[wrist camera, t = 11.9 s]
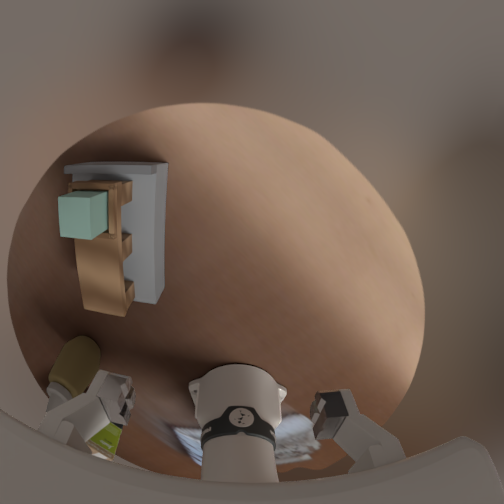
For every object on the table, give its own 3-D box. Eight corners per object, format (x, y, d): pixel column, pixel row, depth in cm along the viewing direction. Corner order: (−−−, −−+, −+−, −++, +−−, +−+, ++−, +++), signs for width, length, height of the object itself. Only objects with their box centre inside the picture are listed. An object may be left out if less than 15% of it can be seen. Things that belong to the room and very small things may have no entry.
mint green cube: (108, 228, 26) (91, 239, 22) (79, 225, 26) (60, 236, 22) (108, 190, 25) (89, 197, 21) (78, 190, 24) (58, 196, 20)
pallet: (135, 299, 34) (122, 320, 29) (98, 292, 33) (81, 312, 29) (132, 178, 28) (113, 183, 24) (90, 177, 28) (68, 183, 23)
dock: (164, 286, 39) (151, 312, 32) (95, 277, 38) (75, 298, 31) (168, 162, 33) (151, 165, 26) (91, 161, 32) (64, 165, 25)
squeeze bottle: (65, 335, 42) (22, 396, 25) (88, 325, 41) (42, 394, 24) (88, 364, 45) (55, 428, 28) (113, 357, 44) (79, 429, 27)
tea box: (100, 424, 54) (85, 464, 40) (72, 402, 51) (52, 442, 37) (128, 414, 51) (113, 462, 37) (96, 389, 48) (74, 437, 34)
